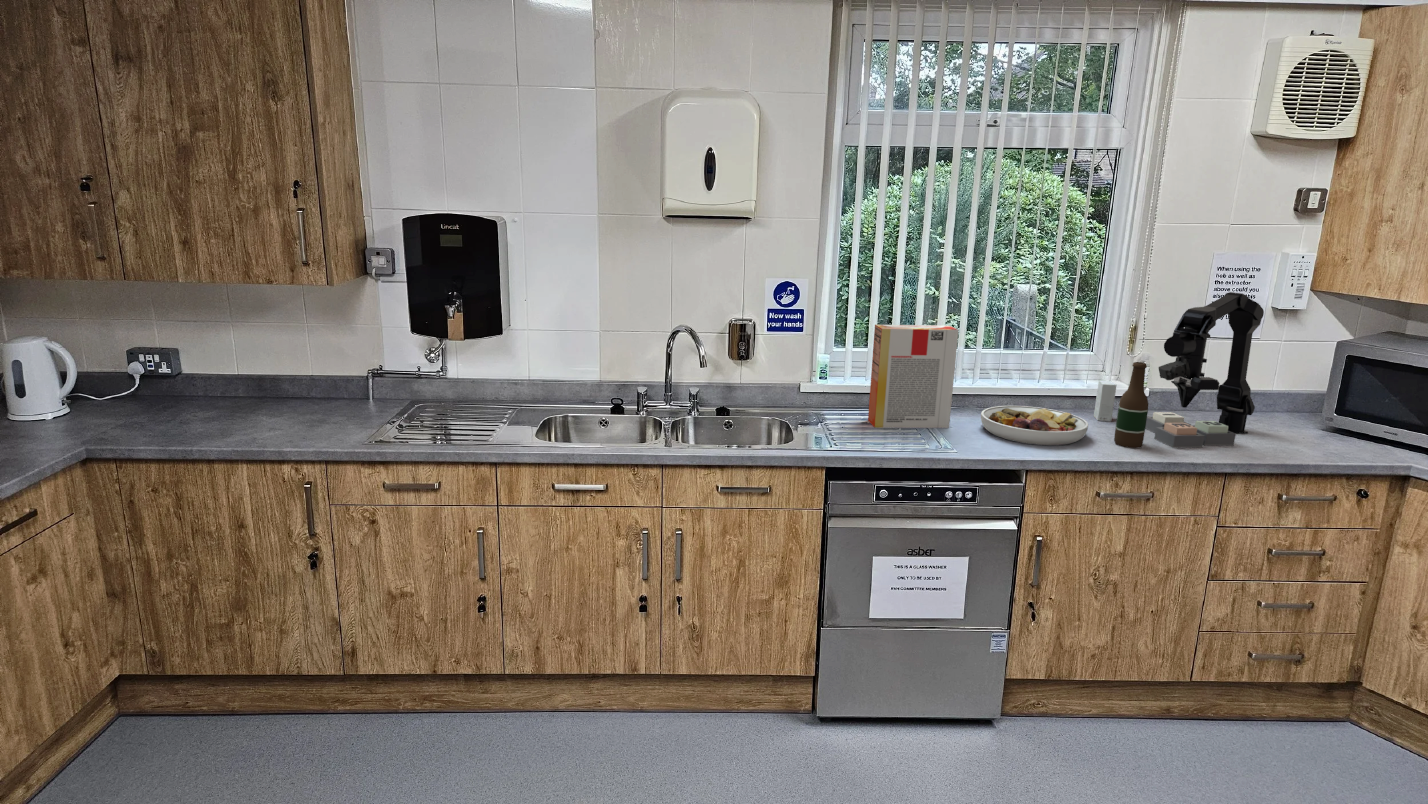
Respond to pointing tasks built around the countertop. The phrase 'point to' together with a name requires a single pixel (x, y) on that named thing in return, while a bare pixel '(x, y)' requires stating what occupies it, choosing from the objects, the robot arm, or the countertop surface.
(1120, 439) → the beer bottle
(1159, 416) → the tile
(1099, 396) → the skincare box
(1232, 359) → the robot arm
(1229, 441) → the tile collars
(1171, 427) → the tile
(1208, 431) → the tile
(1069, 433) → the bowl
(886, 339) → the pasta box
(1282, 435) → the countertop surface
